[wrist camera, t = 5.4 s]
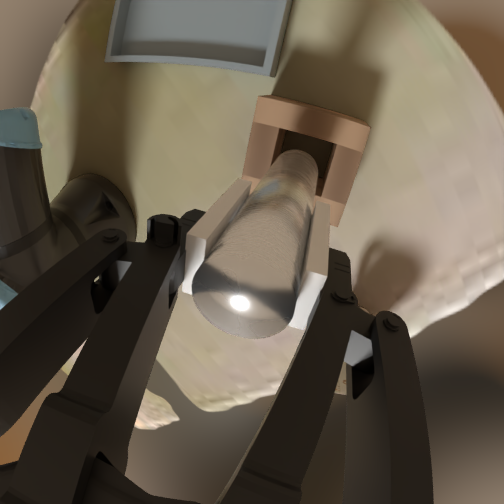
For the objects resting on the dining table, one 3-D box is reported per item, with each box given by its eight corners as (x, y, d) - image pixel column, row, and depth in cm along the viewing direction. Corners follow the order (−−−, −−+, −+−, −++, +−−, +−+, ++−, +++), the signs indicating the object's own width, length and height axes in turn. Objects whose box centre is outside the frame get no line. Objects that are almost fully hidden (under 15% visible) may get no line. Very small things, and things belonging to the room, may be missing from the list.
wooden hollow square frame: (252, 179, 34) (237, 197, 29) (270, 94, 29) (258, 96, 24) (337, 204, 33) (337, 227, 28) (363, 120, 28) (370, 127, 23)
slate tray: (119, 61, 30) (104, 62, 27) (139, -33, 22) (125, -38, 20) (274, 77, 28) (269, 76, 25) (300, -33, 20) (297, -43, 17)
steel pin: (268, 185, 25) (188, 320, 11) (278, 144, 23) (195, 240, 9) (311, 197, 24) (279, 349, 11) (323, 156, 22) (309, 275, 9)
